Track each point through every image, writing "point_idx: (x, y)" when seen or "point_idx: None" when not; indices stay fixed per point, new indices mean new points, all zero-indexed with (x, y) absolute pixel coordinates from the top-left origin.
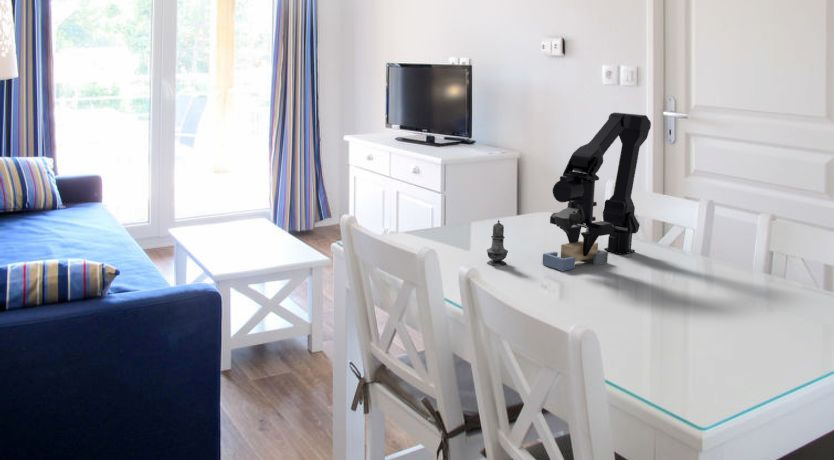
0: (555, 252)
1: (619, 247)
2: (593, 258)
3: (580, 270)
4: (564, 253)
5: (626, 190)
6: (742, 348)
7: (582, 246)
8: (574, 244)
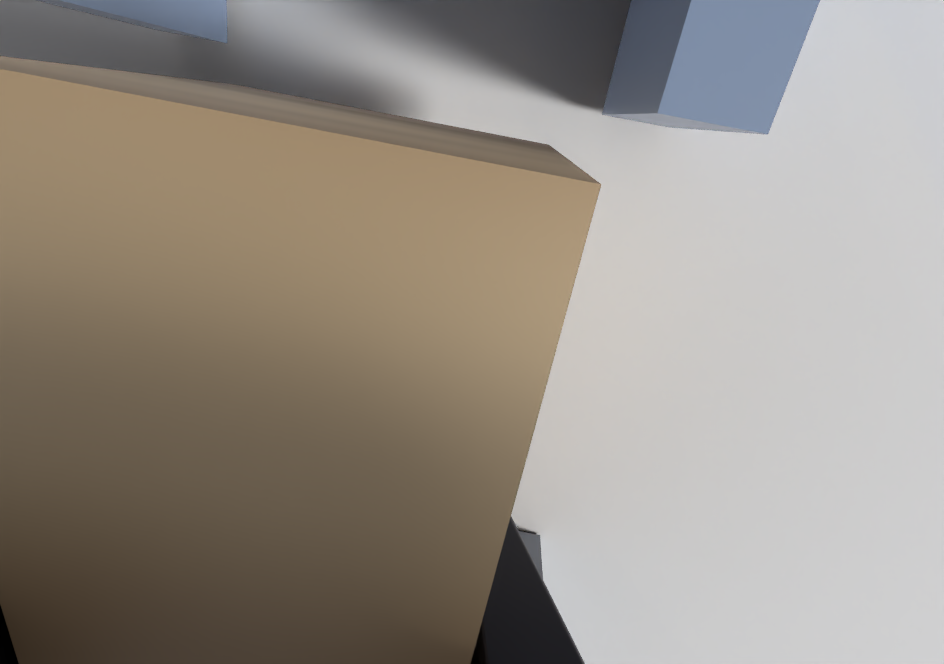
0: (707, 42)
1: None
2: None
3: (70, 59)
4: (419, 129)
5: None
6: None
7: (12, 559)
8: (250, 558)
